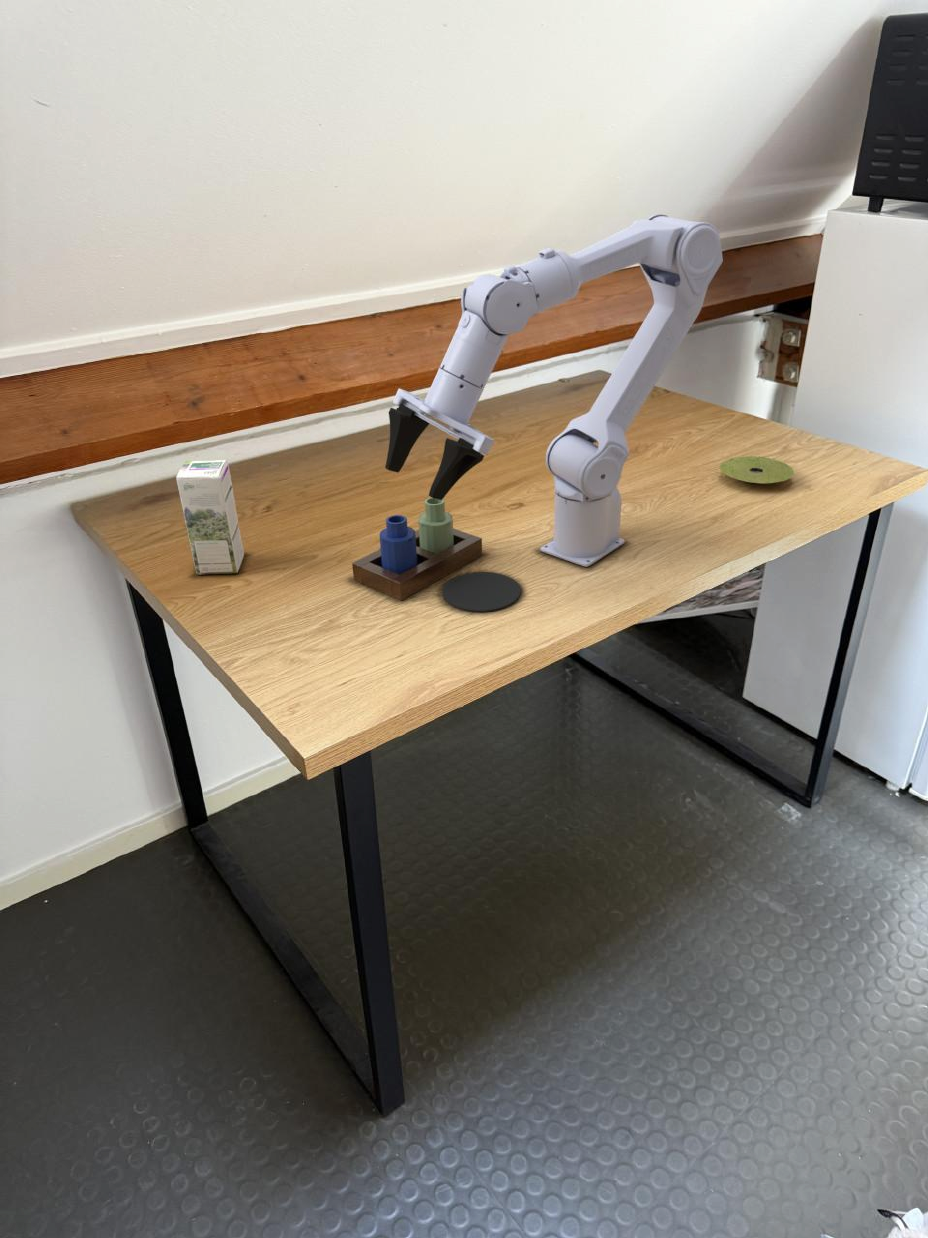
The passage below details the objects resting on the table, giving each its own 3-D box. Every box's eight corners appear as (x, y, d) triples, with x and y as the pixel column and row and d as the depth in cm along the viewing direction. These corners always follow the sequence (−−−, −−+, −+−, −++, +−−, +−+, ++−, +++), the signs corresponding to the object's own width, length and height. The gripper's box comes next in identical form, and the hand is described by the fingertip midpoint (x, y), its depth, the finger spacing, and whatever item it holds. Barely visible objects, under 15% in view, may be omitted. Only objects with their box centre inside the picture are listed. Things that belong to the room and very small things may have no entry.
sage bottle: (436, 547, 128) (433, 491, 123) (460, 556, 125) (458, 499, 121) (413, 559, 125) (410, 502, 120) (438, 568, 122) (435, 511, 118)
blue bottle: (400, 566, 123) (396, 508, 119) (425, 576, 121) (421, 517, 116) (376, 579, 120) (370, 520, 116) (401, 589, 118) (396, 530, 113)
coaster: (477, 566, 122) (477, 564, 122) (536, 589, 117) (536, 587, 116) (426, 595, 116) (426, 593, 116) (486, 621, 110) (486, 618, 110)
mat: (705, 471, 148) (706, 460, 147) (766, 462, 150) (768, 451, 149) (741, 498, 139) (743, 486, 138) (806, 488, 141) (808, 476, 140)
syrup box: (245, 554, 127) (228, 457, 120) (237, 575, 122) (219, 474, 115) (204, 556, 127) (185, 458, 120) (195, 576, 122) (174, 476, 115)
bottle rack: (353, 580, 120) (351, 562, 119) (435, 537, 130) (434, 521, 129) (401, 601, 115) (399, 583, 114) (482, 555, 125) (482, 538, 124)
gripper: (398, 346, 106) (351, 453, 109) (488, 394, 99) (436, 506, 102) (433, 362, 112) (388, 462, 115) (521, 408, 105) (470, 513, 108)
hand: (413, 483), depth 109 cm, fingers open, 7 cm apart
